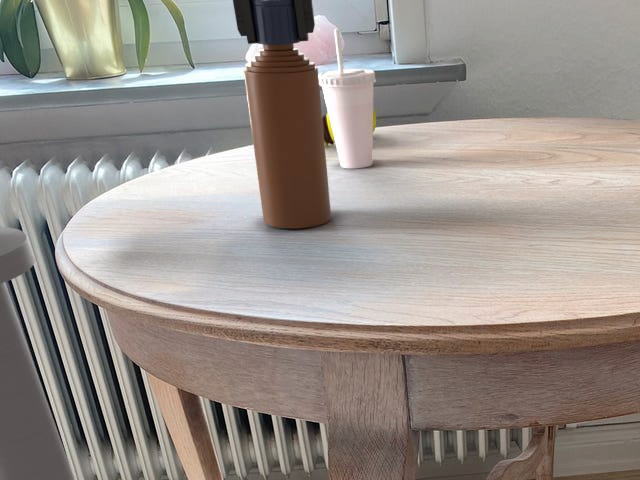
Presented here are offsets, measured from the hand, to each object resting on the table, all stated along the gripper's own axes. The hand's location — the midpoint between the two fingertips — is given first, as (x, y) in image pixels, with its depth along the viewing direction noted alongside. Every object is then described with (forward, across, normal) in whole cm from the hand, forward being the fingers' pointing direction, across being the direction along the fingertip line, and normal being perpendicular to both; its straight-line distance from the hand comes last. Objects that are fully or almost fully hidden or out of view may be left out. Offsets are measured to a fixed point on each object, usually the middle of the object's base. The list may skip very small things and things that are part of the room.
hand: (278, 40), depth 76 cm
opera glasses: (+15, +4, +36) cm, 39 cm away
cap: (0, 0, 0) cm, 0 cm away
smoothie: (+15, +5, +22) cm, 27 cm away
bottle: (+15, -1, 0) cm, 15 cm away
